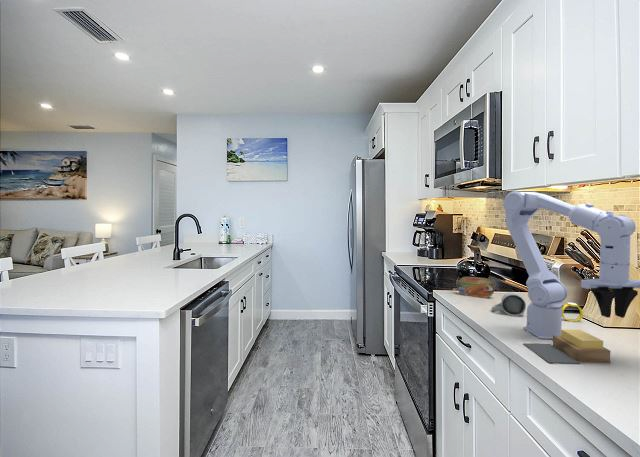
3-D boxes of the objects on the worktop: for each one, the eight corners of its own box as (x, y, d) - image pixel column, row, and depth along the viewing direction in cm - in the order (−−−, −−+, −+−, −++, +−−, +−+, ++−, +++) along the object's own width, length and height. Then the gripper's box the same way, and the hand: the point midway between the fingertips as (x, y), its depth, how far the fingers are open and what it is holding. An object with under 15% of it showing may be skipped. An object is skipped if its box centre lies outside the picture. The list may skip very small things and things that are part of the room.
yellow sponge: (561, 336, 92) (561, 329, 92) (580, 337, 92) (580, 329, 92) (581, 348, 84) (581, 340, 84) (603, 349, 84) (603, 340, 84)
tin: (456, 294, 152) (456, 275, 152) (458, 293, 155) (458, 274, 154) (494, 299, 144) (494, 279, 143) (495, 297, 146) (495, 278, 146)
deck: (552, 346, 93) (552, 335, 93) (581, 346, 93) (581, 335, 93) (577, 362, 83) (577, 350, 83) (610, 362, 83) (610, 350, 83)
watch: (579, 321, 116) (581, 303, 115) (583, 323, 113) (585, 305, 113) (558, 318, 117) (560, 301, 117) (562, 320, 115) (564, 303, 114)
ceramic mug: (523, 311, 126) (523, 290, 126) (526, 317, 119) (526, 295, 119) (491, 308, 131) (491, 288, 130) (491, 314, 123) (491, 293, 123)
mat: (522, 344, 95) (522, 343, 95) (550, 344, 94) (550, 343, 94) (548, 363, 83) (548, 362, 83) (580, 364, 82) (580, 362, 82)
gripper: (595, 265, 83) (594, 321, 84) (659, 265, 82) (657, 321, 83) (576, 261, 90) (574, 312, 91) (634, 261, 89) (632, 313, 90)
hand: (612, 316), depth 87 cm, fingers open, 3 cm apart
